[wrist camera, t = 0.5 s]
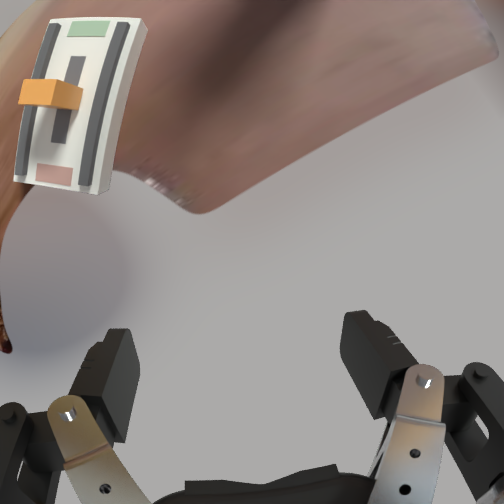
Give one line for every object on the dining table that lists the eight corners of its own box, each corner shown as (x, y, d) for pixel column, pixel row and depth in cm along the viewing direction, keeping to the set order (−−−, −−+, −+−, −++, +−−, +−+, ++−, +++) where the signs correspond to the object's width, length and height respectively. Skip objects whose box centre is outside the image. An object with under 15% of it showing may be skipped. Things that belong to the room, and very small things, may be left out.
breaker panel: (63, 28, 26) (50, 19, 22) (147, 30, 28) (140, 18, 24) (29, 176, 32) (13, 181, 28) (109, 189, 34) (97, 195, 30)
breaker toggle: (53, 87, 25) (24, 79, 19) (83, 88, 26) (57, 79, 20) (48, 108, 26) (18, 104, 20) (78, 110, 26) (50, 105, 20)
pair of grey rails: (53, 26, 22) (49, 23, 21) (130, 25, 24) (127, 22, 23) (19, 173, 28) (14, 174, 27) (91, 184, 30) (87, 186, 29)
